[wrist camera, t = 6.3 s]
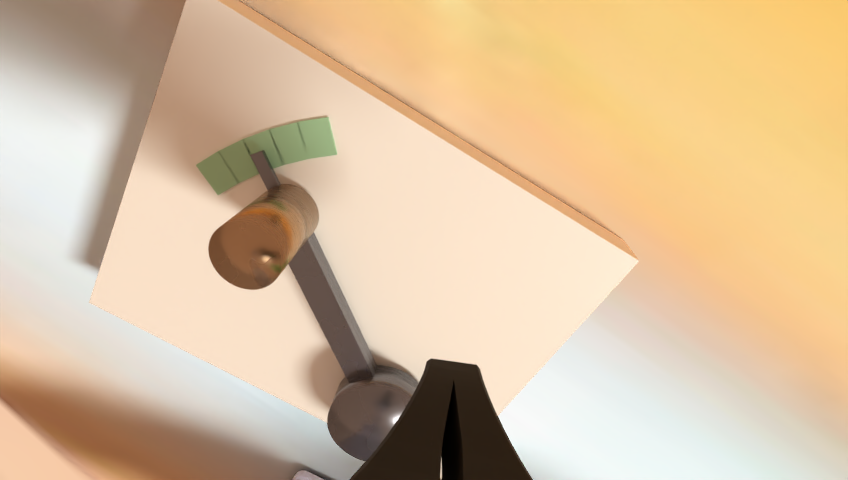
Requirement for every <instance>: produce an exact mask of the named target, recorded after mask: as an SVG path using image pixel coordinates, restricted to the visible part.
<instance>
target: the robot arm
mask: <svg viewBox="0 0 848 480" xmlns="http://www.w3.org/2000/svg"><path fill="white" fill-rule="evenodd" d="M441 457H442V480H533V479H532V478H531V476H530V475H529V473H528V471H527V470H526V468H525V467H524V465H523V463H522V462H521V460H520V458H519V456H518V455H517V453H516V451H515V449H514V447H513V446H512V444H511V442H510V440H509V438H508V436H507V434H506V432H505V430H504V428H503V426H502V424H501V422H500V420H499V418H498V416H497V413H496V411H495V409H494V407H493V404H492V402H491V400H490V397H489V395H488V392H487V389H486V387H485V384H484V381H483V378H482V374H481V371H480V368H479V367H478V366H477V365H476V364H468V363H461V362H454V361H447V360H440V359H433V358H431V359H429V360H428V361H427V362H426V366H425V369H424V372H423V375H422V377H421V379H420V382H419V384H418V386H417V388H416V390H415V392H414V393H413V395H412V397H411V399H410V400H409V402H408V404H407V406H406V407H405V409H404V411H403V412H402V414H401V415H400V417H399V418H398V420H397V421H396V423H395V424H394V426H393V427H392V429H391V430H390V431H389V433H388V434H387V436H386V437H385V438H384V440H383V441H382V442H381V444H380V445H379V446H378V447H377V449H376V450H375V451H374V452H373V454H372V455H371V456H370V457H369V458H368V460H367V461H366V462H365V463H364V464H363V465H362V466H361V467H360V469H359V470H358V471H357V472H356V473H355V474H354V475H353V476H352V477H351V478H350V479H349V480H440V472H441ZM292 480H324V479H322V478H320V477H318V476H316V475H314V474H312V473H310V472H308V471H305V470H301V471H298V472H297V473H296V475H295V476H294V477H293V479H292Z"/></svg>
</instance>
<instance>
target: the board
mask: <svg viewBox="0 0 848 480" xmlns="http://www.w3.org/2000/svg"><path fill="white" fill-rule="evenodd" d="M262 150H264V151H265V153H266V155H267V157H268V159H269V161H270V163H271V165H272V167H273V170H274V172H275V174H276V176H277V178H278V180H279V182H280V184H291V185H295V186H298V187H300V188H302V189H303V190H305V191H306V192H307V193H308V194H309V195H310V196H311V197H312V198H313V199H314V201H315V203H316V205H317V207H318V211H319V222H318V225H317V228H316V229H315V231H314V233H315V236H316V238H317V240H318V242H319V244H320V246H321V248H322V250H323V252H324V255H325V257H326V259H327V261H328V263H329V265H330V267H331V269H332V271H333V273H334V276H335V278H336V280H337V282H338V284H339V286H340V288H341V290H342V292H343V295H344V297H345V299H346V301H347V303H348V305H349V307H350V309H351V311H352V314H353V316H354V318H355V320H356V322H357V324H358V326H359V328H360V330H361V332H362V335H363V337H364V339H365V341H366V343H367V345H368V347H369V349H370V351H371V354H372V356H373V358H374V360H375V362H376V364H377V365H383V366H389V367H393V368H396V369H399V370H401V371H403V372H405V373H407V374H409V375H410V376H412V377H413V378H414V379H415V380H416V381H417V382H418V383H419V382H420V379H421V377H422V375H423V372H424V369H425V366H426V362H427V361H428V360H429V359H431V358H433V359H440V360H447V361H454V362H461V363H468V364H476V365H477V366H478V367H479V368H480V371H481V374H482V378H483V381H484V384H485V387H486V389H487V392H488V395H489V397H490V400H491V402H492V404H493V407H494V409H495V411H496V413H497V416H498V415H499V414H500V413H501V412H502V411H503V410H504V409H505V408H506V406H507V405H508V404H509V403H510V402H511V401H512V400H513V399H514V398H515V397H516V395H517V394H518V393H519V392H520V391H521V390H522V389H523V388H524V387H525V386H526V385H527V383H528V382H529V381H530V380H531V379H532V378H533V377H534V376H535V375H536V374H537V372H538V371H539V370H540V369H541V368H542V367H543V366H544V365H545V364H546V363H547V361H548V360H549V359H550V358H551V357H552V356H553V355H554V354H555V353H556V352H557V351H558V349H559V348H560V347H561V346H562V345H563V344H564V343H565V342H566V341H567V340H568V338H569V337H570V336H571V335H572V334H573V333H574V332H575V331H576V330H577V329H578V328H579V326H580V325H581V324H582V323H583V322H584V321H585V320H586V319H587V318H588V317H589V315H590V314H591V313H592V312H593V311H594V310H595V309H596V308H597V307H598V306H599V305H600V303H601V302H602V301H603V300H604V299H605V298H606V297H607V296H608V295H609V294H610V292H611V291H612V290H613V289H614V288H615V287H616V286H617V285H618V284H619V283H620V281H621V280H622V279H623V278H624V277H625V276H626V275H627V274H628V273H629V272H630V271H631V269H632V268H633V267H634V266H635V265H636V264H637V263H638V262H639V260H638V259H637V257H636V256H635V254H634V253H633V252H632V250H631V249H630V248H629V246H628V245H627V244H626V242H625V241H624V240H623V239H621V238H619V237H618V236H616V235H615V234H613V233H611V232H610V231H608V230H607V229H605V228H603V227H602V226H600V225H599V224H597V223H595V222H594V221H592V220H591V219H589V218H587V217H586V216H584V215H583V214H581V213H579V212H578V211H576V210H574V209H573V208H571V207H570V206H568V205H566V204H565V203H563V202H562V201H560V200H558V199H557V198H555V197H554V196H552V195H550V194H549V193H547V192H546V191H544V190H542V189H541V188H539V187H538V186H536V185H534V184H533V183H531V182H529V181H528V180H526V179H525V178H523V177H521V176H520V175H518V174H517V173H515V172H513V171H512V170H510V169H509V168H507V167H505V166H504V165H502V164H501V163H499V162H497V161H496V160H494V159H493V158H491V157H489V156H488V155H486V154H484V153H483V152H481V151H480V150H478V149H476V148H475V147H473V146H472V145H470V144H468V143H467V142H465V141H464V140H462V139H460V138H459V137H457V136H456V135H454V134H452V133H451V132H449V131H448V130H446V129H444V128H443V127H441V126H439V125H438V124H436V123H435V122H433V121H431V120H430V119H428V118H427V117H425V116H423V115H422V114H420V113H419V112H417V111H415V110H414V109H412V108H411V107H409V106H407V105H406V104H404V103H403V102H401V101H399V100H398V99H396V98H394V97H393V96H391V95H390V94H388V93H386V92H385V91H383V90H382V89H380V88H378V87H377V86H375V85H374V84H372V83H370V82H369V81H367V80H366V79H364V78H362V77H361V76H359V75H358V74H356V73H354V72H353V71H351V70H349V69H348V68H346V67H345V66H343V65H341V64H340V63H338V62H337V61H335V60H333V59H332V58H330V57H329V56H327V55H325V54H324V53H322V52H321V51H319V50H317V49H316V48H314V47H313V46H311V45H309V44H308V43H306V42H304V41H303V40H301V39H300V38H298V37H296V36H295V35H293V34H292V33H290V32H288V31H287V30H285V29H284V28H282V27H280V26H279V25H277V24H276V23H274V22H272V21H271V20H269V19H268V18H266V17H264V16H263V15H261V14H259V13H258V12H256V11H255V10H253V9H251V8H250V7H248V6H247V5H245V4H243V3H242V2H240V1H239V0H186V1H185V5H184V8H183V11H182V14H181V17H180V20H179V23H178V26H177V30H176V33H175V36H174V39H173V42H172V45H171V48H170V51H169V55H168V58H167V61H166V64H165V67H164V70H163V73H162V76H161V79H160V83H159V86H158V89H157V92H156V95H155V98H154V101H153V104H152V108H151V111H150V114H149V117H148V120H147V123H146V126H145V129H144V133H143V136H142V139H141V142H140V145H139V148H138V151H137V154H136V158H135V161H134V164H133V167H132V170H131V173H130V176H129V179H128V182H127V186H126V189H125V192H124V195H123V198H122V201H121V204H120V207H119V211H118V214H117V217H116V220H115V223H114V226H113V229H112V232H111V236H110V239H109V242H108V245H107V248H106V251H105V254H104V257H103V261H102V264H101V267H100V270H99V273H98V276H97V279H96V282H95V286H94V289H93V292H92V295H91V298H90V301H89V303H91V304H93V305H95V306H97V307H99V308H101V309H103V310H105V311H107V312H109V313H111V314H113V315H115V316H117V317H119V318H121V319H123V320H125V321H127V322H129V323H131V324H133V325H135V326H137V327H139V328H141V329H142V330H144V331H146V332H148V333H150V334H152V335H154V336H156V337H158V338H160V339H162V340H164V341H166V342H168V343H170V344H172V345H174V346H176V347H178V348H180V349H182V350H184V351H186V352H188V353H190V354H192V355H194V356H196V357H198V358H200V359H202V360H204V361H206V362H208V363H210V364H212V365H214V366H216V367H218V368H220V369H222V370H224V371H226V372H228V373H230V374H232V375H234V376H236V377H238V378H240V379H242V380H244V381H246V382H247V383H249V384H251V385H253V386H255V387H257V388H259V389H261V390H263V391H265V392H267V393H269V394H271V395H273V396H275V397H277V398H279V399H281V400H283V401H285V402H287V403H289V404H291V405H293V406H295V407H297V408H299V409H301V410H303V411H305V412H307V413H309V414H311V415H313V416H315V417H317V418H319V419H321V420H323V421H325V422H327V417H328V412H329V410H330V407H331V404H332V402H333V399H334V396H335V394H336V391H337V388H338V386H339V384H340V382H341V381H342V380H343V378H344V377H345V374H344V372H343V370H342V368H341V366H340V364H339V362H338V360H337V359H336V357H335V355H334V353H333V351H332V349H331V347H330V345H329V343H328V341H327V339H326V337H325V335H324V333H323V331H322V329H321V327H320V325H319V323H318V321H317V319H316V317H315V315H314V313H313V311H312V309H311V308H310V306H309V304H308V302H307V300H306V298H305V296H304V294H303V292H302V290H301V288H300V286H299V284H298V282H297V280H296V278H295V276H294V274H293V272H292V270H291V268H290V266H289V264H288V265H287V266H286V268H285V269H284V270H283V271H282V273H281V274H280V275H279V276H278V278H277V279H276V280H275V281H274V282H273V283H272V284H271V285H269V286H267V287H265V288H262V289H257V290H248V289H243V288H239V287H236V286H234V285H232V284H230V283H229V282H227V281H226V280H225V279H223V278H222V277H221V276H220V275H219V274H218V273H217V271H216V270H215V268H214V267H213V265H212V263H211V260H210V257H209V251H208V246H209V241H210V238H211V236H212V234H213V233H214V232H215V231H216V230H217V229H218V228H219V227H220V226H222V225H223V224H224V223H225V222H227V221H228V220H229V219H231V218H232V217H233V216H235V215H236V214H237V213H238V212H240V211H241V210H242V209H244V208H245V207H246V206H248V205H249V204H250V203H251V202H253V201H254V200H255V199H257V198H258V197H259V196H260V195H262V194H263V193H264V192H266V191H267V188H266V186H265V184H264V182H263V180H262V178H261V176H260V174H259V172H258V170H257V168H256V166H255V164H254V162H253V160H252V158H251V156H250V155H252V154H254V153H257V152H259V151H262ZM441 478H442V457H441V472H440V479H441Z"/></svg>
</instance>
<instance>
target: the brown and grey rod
mask: <svg viewBox="0 0 848 480" xmlns="http://www.w3.org/2000/svg"><path fill="white" fill-rule="evenodd" d="M250 156H251V158H252V160H253V162H254V164H255V166H256V168H257V170H258V172H259V174H260V176H261V178H262V180H263V182H264V184H265V186H266V188H267V191H266V192H264V193H263V194H262V195H260V196H259V197H258V198H257V199H255V200H254V201H253V202H251V203H250V204H249V205H248V206H246V207H245V208H244V209H242V210H241V211H240V212H238V213H237V214H236V215H235V216H233V217H232V218H231V219H229V220H228V221H227V222H225V223H224V224H223V225H222V226H220V227H219V228H218V229H217V230H216V231H215V232H214V233H213V234H212V236H211V238H210V241H209V246H208V251H209V257H210V260H211V263H212V265H213V267H214V268H215V270H216V271H217V273H218V274H219V275H220V276H221V277H222V278H223V279H225V280H226V281H227V282H229V283H230V284H232V285H234V286H236V287H239V288H243V289H248V290H257V289H262V288H265V287H267V286H269V285H271V284H272V283H273V282H274V281H275V280H276V279H277V278H278V276H279V275H280V274H281V273H282V271H283V270H284V269H285V268H286V266H287V265H288V264H289V266H290V268H291V270H292V272H293V274H294V276H295V278H296V280H297V282H298V284H299V286H300V288H301V290H302V292H303V294H304V296H305V298H306V300H307V302H308V304H309V306H310V308H311V309H312V311H313V313H314V315H315V317H316V319H317V321H318V323H319V325H320V327H321V329H322V331H323V333H324V335H325V337H326V339H327V341H328V343H329V345H330V347H331V349H332V351H333V353H334V355H335V357H336V359H337V360H338V362H339V364H340V366H341V368H342V370H343V372H344V374H345V377H344V378H343V380H342V381H341V382H340V384H339V386H338V388H337V391H336V394H335V396H334V399H333V402H332V404H331V407H330V410H329V412H328V417H327V424H328V429H329V432H330V434H331V437H332V438H333V440H334V441H335V442H336V444H337V445H338V446H339V447H340V448H341V449H343V450H344V451H345V452H347V453H348V454H350V455H351V456H353V457H355V458H358V459H360V460H363V461H367V460H368V458H369V457H370V456H371V455H372V454H373V452H374V451H375V450H376V449H377V447H378V446H379V445H380V444H381V442H382V441H383V440H384V438H385V437H386V436H387V434H388V433H389V431H390V430H391V429H392V427H393V426H394V424H395V423H396V421H397V420H398V418H399V417H400V415H401V414H402V412H403V411H404V409H405V407H406V406H407V404H408V402H409V400H410V399H411V397H412V395H413V393H414V392H415V390H416V388H417V386H418V384H419V383H418V382H417V381H416V380H415V379H414V378H413V377H412V376H410V375H409V374H407V373H405V372H403V371H401V370H399V369H396V368H393V367H389V366H383V365H377V364H376V362H375V360H374V358H373V356H372V354H371V351H370V349H369V347H368V345H367V343H366V341H365V339H364V337H363V335H362V332H361V330H360V328H359V326H358V324H357V322H356V320H355V318H354V316H353V314H352V311H351V309H350V307H349V305H348V303H347V301H346V299H345V297H344V295H343V292H342V290H341V288H340V286H339V284H338V282H337V280H336V278H335V276H334V273H333V271H332V269H331V267H330V265H329V263H328V261H327V259H326V257H325V255H324V252H323V250H322V248H321V246H320V244H319V242H318V240H317V238H316V236H315V233H314V231H315V229H316V228H317V225H318V222H319V211H318V207H317V205H316V203H315V201H314V199H313V198H312V197H311V196H310V195H309V194H308V193H307V192H306V191H305V190H303V189H302V188H300V187H298V186H295V185H291V184H280V182H279V180H278V178H277V176H276V174H275V172H274V170H273V167H272V165H271V163H270V161H269V159H268V157H267V155H266V153H265V151H264V150H262V151H259V152H257V153H254V154H252V155H250Z"/></svg>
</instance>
